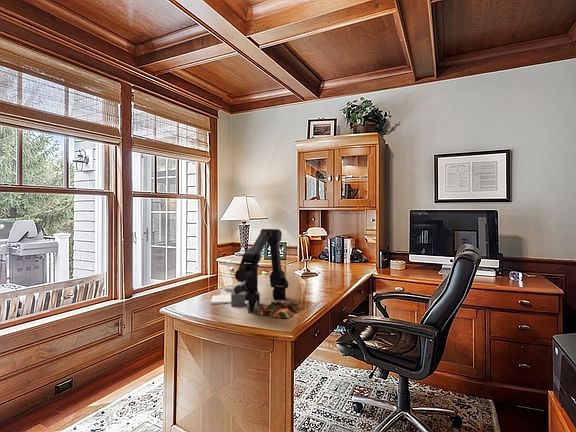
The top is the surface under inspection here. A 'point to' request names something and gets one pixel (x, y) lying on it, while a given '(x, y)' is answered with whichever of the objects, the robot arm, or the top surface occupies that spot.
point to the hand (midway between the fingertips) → (251, 310)
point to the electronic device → (231, 288)
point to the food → (279, 309)
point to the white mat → (221, 299)
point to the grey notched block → (240, 299)
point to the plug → (249, 308)
